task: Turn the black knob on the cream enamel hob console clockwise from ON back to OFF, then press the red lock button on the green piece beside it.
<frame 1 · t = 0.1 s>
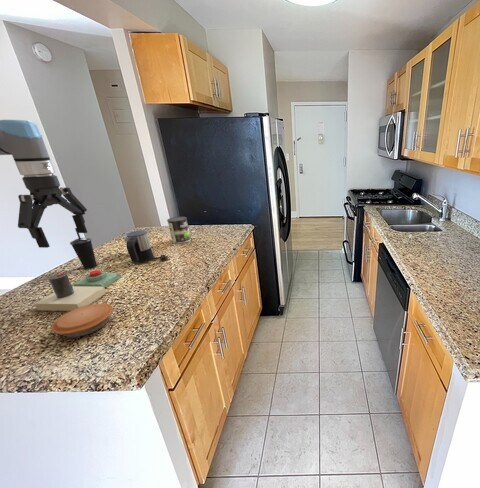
hand: (65, 239, 88), 27 cm above the countertop, tool pointing down, fingers open, 13 cm apart
milk frother: (151, 260, 135), on the countertop
coffee can: (181, 240, 160), on the countertop
lock button: (95, 273, 112), point 4 cm above the countertop, slide at 0.1 cm
hob knob: (61, 285, 98), point 7 cm above the countertop, hinge at 90.0°
green piece: (98, 282, 113), on the countertop
food container: (137, 253, 142), on the countertop
pie: (87, 326, 87), on the countertop
drinking cup: (90, 267, 128), on the countertop
hob console: (73, 301, 100), on the countertop
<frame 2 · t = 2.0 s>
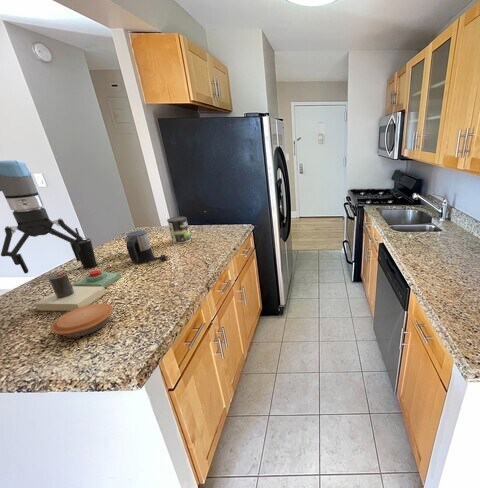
hand: (53, 265, 95), 15 cm above the countertop, tool pointing down, fingers open, 13 cm apart
nothing on the countertop moved.
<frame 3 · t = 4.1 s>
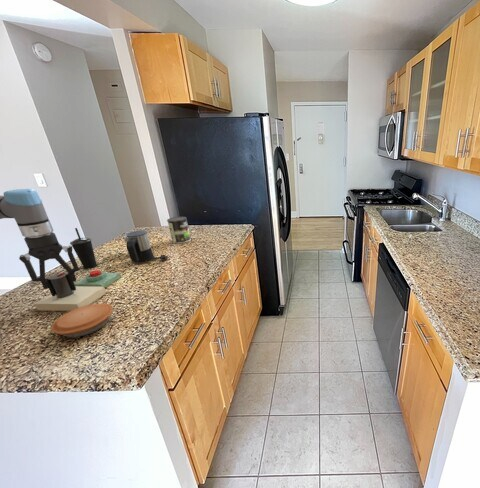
hand: (64, 291, 99), 4 cm above the countertop, tool pointing down, fingers closed on hob knob, 5 cm apart
hob knob: (61, 285, 98), point 7 cm above the countertop, hinge at 89.9°, touching gripper
everything else where it was.
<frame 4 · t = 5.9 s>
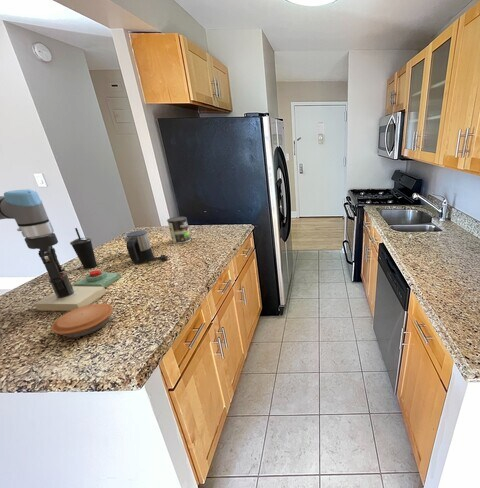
hand: (64, 291, 99), 4 cm above the countertop, tool pointing down, fingers open, 6 cm apart
hob knob: (61, 285, 98), point 7 cm above the countertop, hinge at -0.5°
everything else where it was.
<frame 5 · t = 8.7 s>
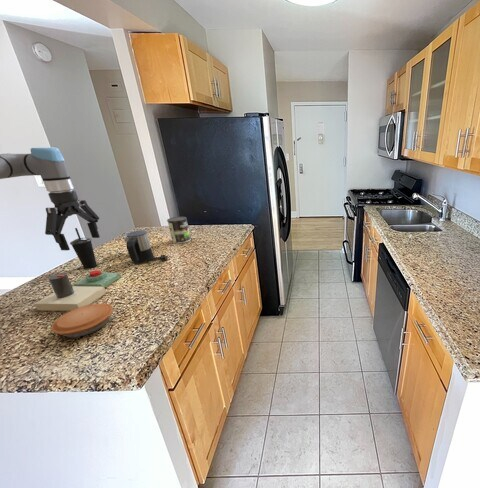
hand: (81, 243, 105), 19 cm above the countertop, tool pointing down, fingers open, 13 cm apart
nothing on the countertop moved.
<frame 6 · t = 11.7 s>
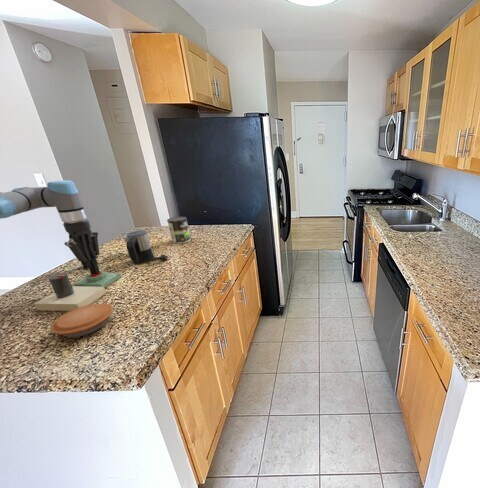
hand: (95, 273, 112), 5 cm above the countertop, tool pointing down, fingers closed
lock button: (96, 275, 112), point 4 cm above the countertop, slide at -0.8 cm, touching gripper
everything else where it was.
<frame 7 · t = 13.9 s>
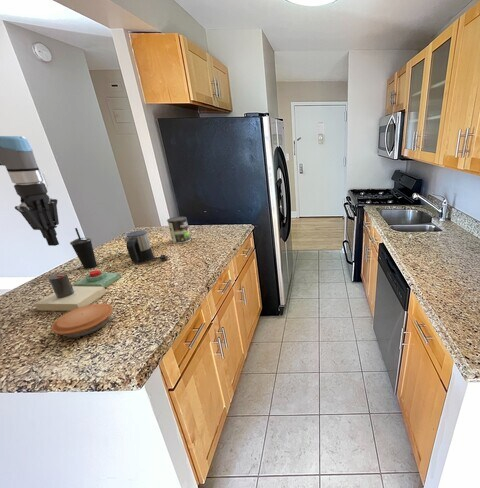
hand: (53, 244, 100), 20 cm above the countertop, tool pointing down, fingers closed
lock button: (95, 273, 112), point 4 cm above the countertop, slide at 0.1 cm
everything else where it was.
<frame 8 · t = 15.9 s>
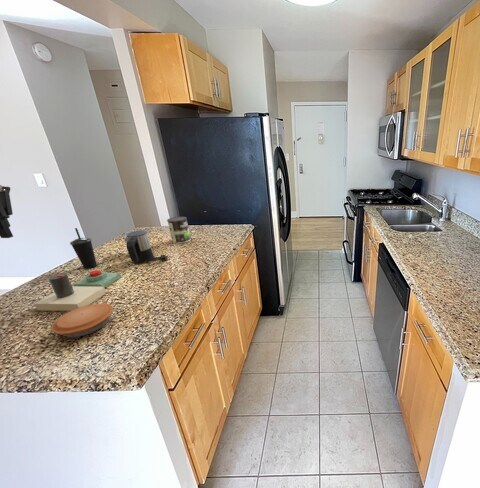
hand: (7, 237, 91), 26 cm above the countertop, tool pointing down, fingers closed
nothing on the countertop moved.
at the end: hob knob at +0° (first picture: +90°); lock button pushed in 1.0 cm at the most during the clip, back to where it started at the end; lock button slide at 0.1 cm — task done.
